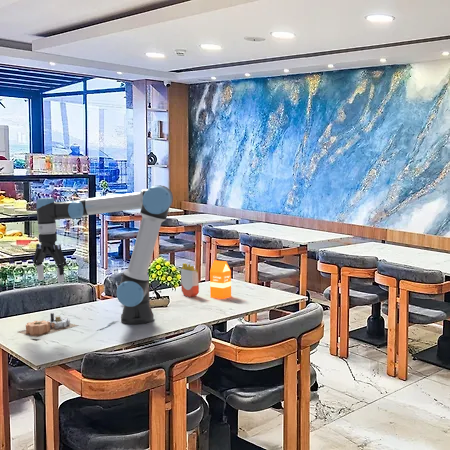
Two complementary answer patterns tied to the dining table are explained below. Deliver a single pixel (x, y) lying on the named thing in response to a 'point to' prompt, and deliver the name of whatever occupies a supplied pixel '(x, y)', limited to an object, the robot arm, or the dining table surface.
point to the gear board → (49, 330)
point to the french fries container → (189, 280)
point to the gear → (59, 324)
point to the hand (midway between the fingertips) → (50, 281)
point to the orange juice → (220, 280)
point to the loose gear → (38, 327)
